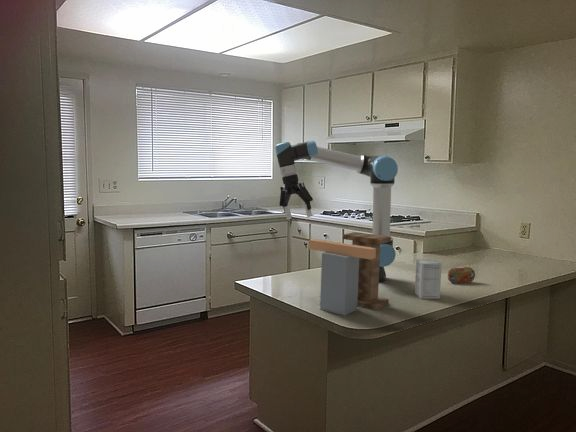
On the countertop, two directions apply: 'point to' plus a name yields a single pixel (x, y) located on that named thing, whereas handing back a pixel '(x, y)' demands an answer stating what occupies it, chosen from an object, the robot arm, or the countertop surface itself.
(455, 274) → the tin
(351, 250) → the rod
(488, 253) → the countertop surface
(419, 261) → the supplement box
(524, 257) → the countertop surface
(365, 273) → the stand
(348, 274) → the slate block
